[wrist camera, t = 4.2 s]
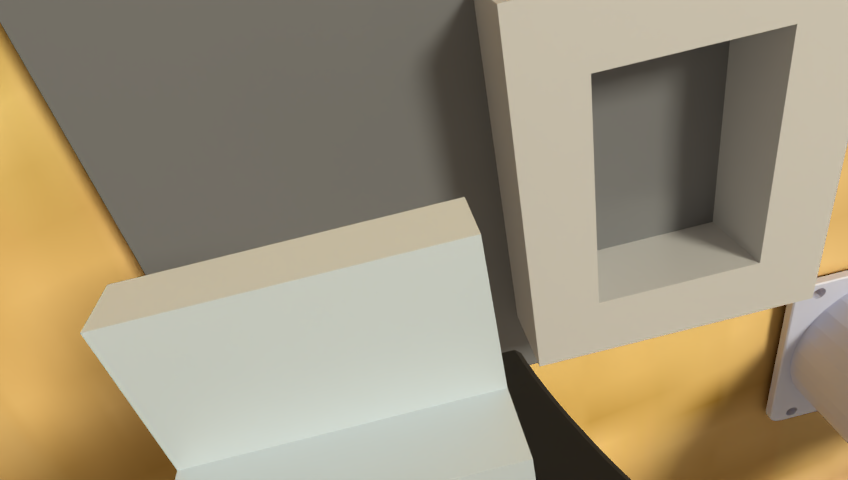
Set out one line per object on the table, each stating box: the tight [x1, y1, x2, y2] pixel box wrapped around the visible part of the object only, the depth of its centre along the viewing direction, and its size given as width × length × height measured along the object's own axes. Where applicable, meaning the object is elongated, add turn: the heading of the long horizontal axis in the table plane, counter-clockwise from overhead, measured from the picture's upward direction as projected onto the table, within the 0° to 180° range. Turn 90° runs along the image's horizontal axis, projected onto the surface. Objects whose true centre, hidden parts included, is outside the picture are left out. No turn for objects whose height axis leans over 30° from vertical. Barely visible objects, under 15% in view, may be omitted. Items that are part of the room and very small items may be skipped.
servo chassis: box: [0, 0, 848, 366], centre depth 17 cm, size 20×16×4 cm
